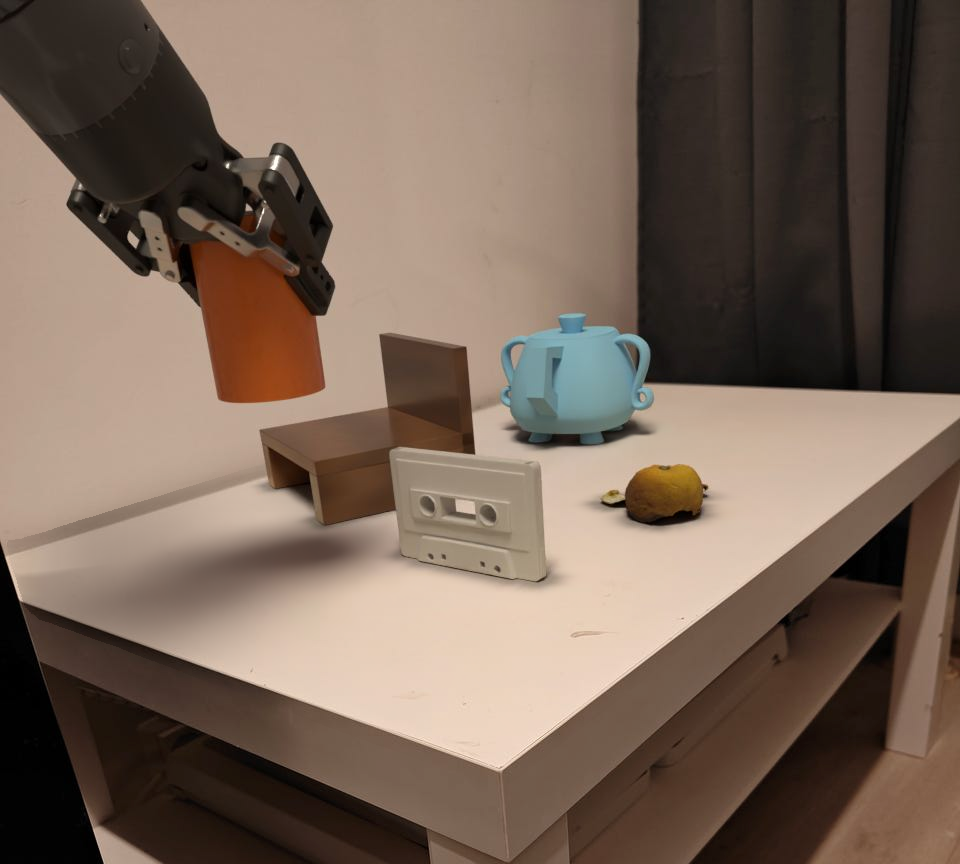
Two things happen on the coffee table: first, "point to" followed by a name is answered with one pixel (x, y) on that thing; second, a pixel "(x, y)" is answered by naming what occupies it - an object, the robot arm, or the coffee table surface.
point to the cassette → (470, 537)
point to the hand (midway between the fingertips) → (273, 305)
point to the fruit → (661, 492)
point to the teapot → (575, 380)
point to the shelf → (377, 431)
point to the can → (255, 326)
